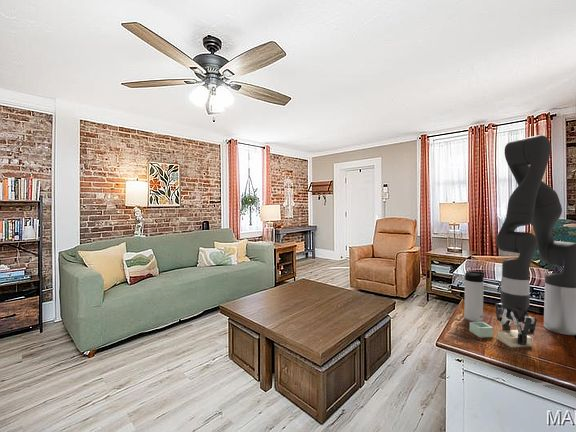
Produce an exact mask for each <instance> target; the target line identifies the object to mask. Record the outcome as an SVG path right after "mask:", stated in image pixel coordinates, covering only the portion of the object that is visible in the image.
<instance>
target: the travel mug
mask: <svg viewBox="0 0 576 432" xmlns="http://www.w3.org/2000/svg"><path fill="white" fill-rule="evenodd" d="M464 275H465V276H464V306H463V307H464V308H463V309H464V311H463V312H464V313H463V314H464V315H463V316H464V319H465V320H466V321H469V322H484V275H485V272H484V271H466V272H465V273H464Z"/></svg>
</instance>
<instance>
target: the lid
mask: <svg viewBox="0 0 576 432" xmlns="http://www.w3.org/2000/svg"><path fill="white" fill-rule="evenodd" d="M496 338H497V339H498V340H500V341H502V342H503V343H505V344H507V345H508V346H510V347H528V346H532V336H529V335H527V344H526V345H519V344H518V330H517V329H510V330H502V329H501V330H500V329H499V330H497V337H496ZM497 339H496V340H497ZM498 340H497V341H498ZM500 341H499V342H500ZM502 342H501V343H502ZM503 343H502V344H503ZM505 344H504V345H505ZM508 346H507V347H508ZM510 347H509V348H510ZM528 348H529V347H528Z"/></svg>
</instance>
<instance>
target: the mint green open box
mask: <svg viewBox="0 0 576 432" xmlns="http://www.w3.org/2000/svg"><path fill="white" fill-rule="evenodd" d="M469 332H470V333H472V334H473V335H475V336H476V337H478V338H481V339H482V338H483V339H485V338H494V327H493V326H491V325H489V324H488V323H486V322H485V321H483V322H471V321H469Z"/></svg>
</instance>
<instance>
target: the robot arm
mask: <svg viewBox="0 0 576 432" xmlns="http://www.w3.org/2000/svg"><path fill="white" fill-rule="evenodd" d="M551 148H552V146H551V141H550V139H549V138H548V137H547V136H545V135H542V134H540V135H534V136H529V137H524V138H521V139H516V140H511V141H508V143H506V145H505V147H504V158H505V162H506V164H507V165H508V168H509V170H510V172H511V174H512V176H513V177H514V180H515V181H516V184H517V187H516V188H515V189H514V191H512V194H510V196H509V199H508V202H507V208H506V216H505V219H504V221H503V223H502V226H501V227H500V230H499V231H498V234H497V236H496V239H495V244H496V247H497V248H498V249H499V250H500V251H502V252H508V253H516V254H519V256H518V257H517V258H506V259H504V260H503V261H502V265H501V280H500V303H495V304H494V305H495V306H494V307H495V313H496V321H498V322H500V324H501V326H502V328H501V330H512V329H511V323H512V322H513V324H514V326H515V327H516V328H517V329H516V330H518V344H519V345H526V344H527V335H528V336H529V335H531V336H534V334H535V330H536V327H537V326H536V325H537V320H538V319H537V318H536V317H534V316H533V317H532V316H531V315H529V313H528V308H529V307H530V306H531V305H530V304H531V303H530V300H531V299H530V298H531V296H530V295H531V283H530V268H531V267H530V266H531V263H532V261H533V257H534V255H535V252H536V250H538V253H539V257H540V259H541V260H542V262H543V263H545V264H548V265H552V266H556V267H557V266H558V267H562V271H561V272H556V273H548V274H546V275H545V276H544V300H543V302H544V305H543V309H544V310H543V327H544V328H545V329H546V330H548V331H551V332H554V333H556V334H561V335H567V336H576V242H570V241H562V240H561V241H560V240H556V239H555V238H554V236H553V228H554V227H555V225H556V224H557V222H558V221H559V220H560V218H561V215H562V213H563V208H562V204H561V201H560V197H559V196H558V193H557V191H555V189H554V188H553V187H551V186H550V185H549V184H547V183H546V182H545V181H543V179H544V175H545V172H546V169H547V166H548V164H549V159H550V156H551V152H552V151H551V150H552V149H551ZM530 225H531V226H532V229H533V232H534V233H532V232H526V231H516V229H518V228H519V227H524V226H530Z"/></svg>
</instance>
